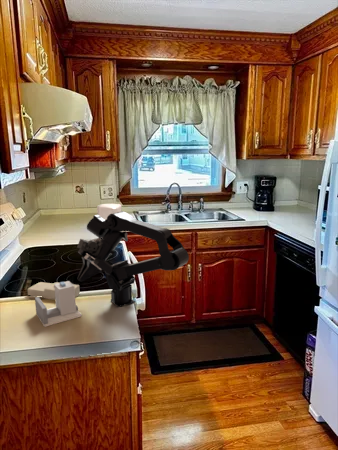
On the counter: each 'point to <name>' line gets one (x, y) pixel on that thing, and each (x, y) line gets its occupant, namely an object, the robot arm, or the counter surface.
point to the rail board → (52, 314)
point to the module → (65, 297)
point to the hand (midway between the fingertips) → (79, 280)
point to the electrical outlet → (47, 290)
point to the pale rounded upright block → (108, 210)
